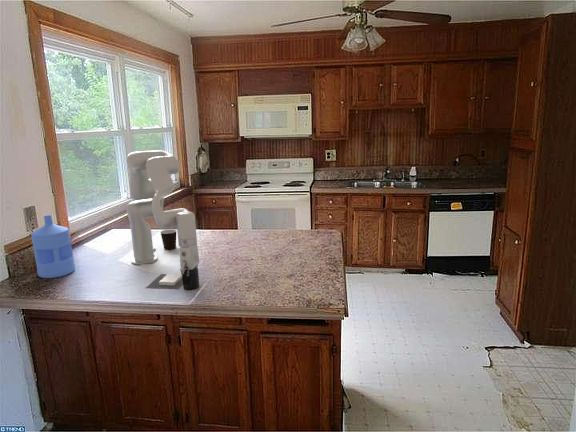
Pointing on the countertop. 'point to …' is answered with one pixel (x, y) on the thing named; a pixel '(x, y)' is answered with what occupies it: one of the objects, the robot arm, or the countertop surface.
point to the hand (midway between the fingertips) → (190, 279)
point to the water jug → (52, 250)
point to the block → (171, 279)
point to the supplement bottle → (193, 279)
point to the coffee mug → (169, 239)
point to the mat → (156, 285)
